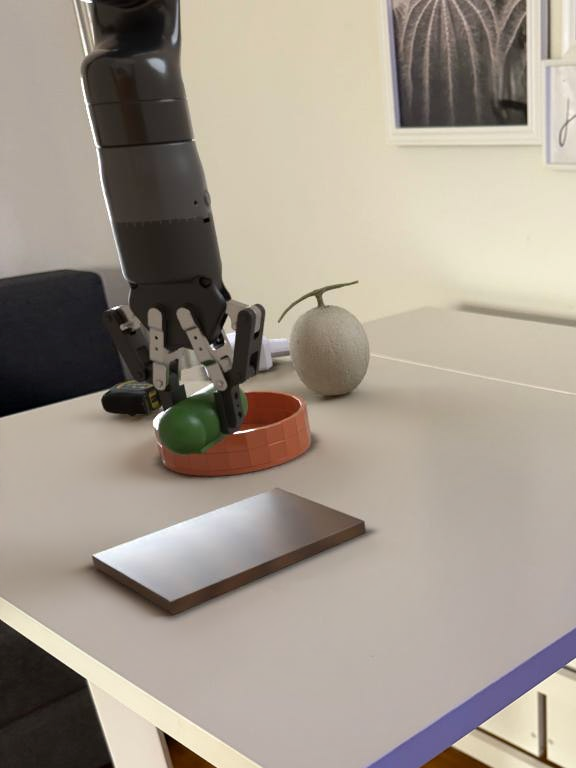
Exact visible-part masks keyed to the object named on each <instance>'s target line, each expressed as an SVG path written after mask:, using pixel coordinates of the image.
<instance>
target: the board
mask: <svg viewBox="0 0 576 768" xmlns="http://www.w3.org/2000/svg"><path fill="white" fill-rule="evenodd" d="M366 531H367V529H366V521H365V520H363V519H361V518H358V517H355V516H352V515H350V514H347V513H345V512H342V511H340V510H337V509H335V508H332V507H330V506H326V505H324V504H322V503H319V502H316V501H314V500H311V499H309V498H307V497H303V496H301V495H298V494H296V493H293V492H290V491H288V490H285V489H282V488H279V487H274V488H272V489H269V490H266V491H263V492H261V493H258V494H256V495H253V496H250V497H247V498H244V499H242V500H239V501H237V502H234V503H230V504H229V505H225V506H223V507H221V508H220V507H219V508H217V509H215V510H211V511H209V512H207V513H204V514H203V513H202V514H201V515H198V516H196V517H195V516H194V517H192V518H189V519H187V520H184V521H181V522H179V523H176V524H174V525H171V526H168V527H165V528H162V529H160V530H158V531H154V532H151V533H148V534H146V535H144V536H141V537H138V538H135V539H132V540H129V541H126V542H124V543H121V544H119V545H116V546H113V547H110V548H108V549H104V550H102V551H99V552H96V553H94V554H91V559H92V563H93V565H94V568H95V569H97V570H99V571H100V572H102V573H104V574H105V575H107V576H109V577H110V578H113V579H114V580H115V581H117V582H119V583H120V584H122V585H124V586H125V587H127V588H128V589H130V590H132V591H134V592H136V593H137V594H139V595H140V596H142V597H144V598H145V599H147V600H148V601H150V602H151V603H154V604H155V605H156V606H158V607H160V608H162V609H164V610H165V611H167V612H168V613H170V614H172V615H177V614H179V613H181V612H184V611H186V610H188V609H191V608H193V607H195V606H197V605H200V604H202V603H205V602H208V601H209V600H212V599H214V598H217V597H219V596H221V595H223V594H226V593H228V592H230V591H233V590H235V589H237V588H240V587H242V586H244V585H246V584H249V583H251V582H253V581H256V580H258V579H261V578H263V577H265V576H267V575H270V574H272V573H274V572H277V571H279V570H281V569H284V568H286V567H288V566H291V565H293V564H295V563H298V562H300V561H303V560H305V559H307V558H309V557H312V556H314V555H316V554H319V553H321V552H324V551H325V550H328V549H330V548H333V547H336V546H338V545H340V544H342V543H345V542H347V541H349V540H351V539H355V538H357V537H359V536H361V535H363V534H365V533H367V532H366Z"/></svg>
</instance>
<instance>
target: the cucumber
mask: <svg viewBox="0 0 576 768" xmlns="http://www.w3.org/2000/svg"><path fill="white" fill-rule="evenodd" d="M216 390H217V389H216V388H215V387H214V385H213V383H210V384H208V385H207V386H205V387H203V388H201V389H200V390H198V391H196V392H195V393H193V394H191V395H190V396H187V398H186V399H184V400H182V401H181V402H179V403H177V404H175V405H174V406H172V407H170V408H169V409H167V410H166V411H165V412H164V413H163V414H162V415H161V417H160V419H159V422H158V435H159V438H160V440H161V442H162V443H163V445H164V446H165V447H166V448H167V449H169V450H170V451H172V452H173V453H176V454H179V455H191V454H202V453H204V452H205V451H207V450H208V449H209V448H211V447H212V446H214V445H215V444H217V443H218V442H220V441H221V440H223V439H224V438H225V437H227V436H228V435H224V434H222V432H221V428H220V421H219V418H218V413H217V408H216V404H215V399H214V394H213V392H214V391H216ZM239 391H240V396H241V401H242V406H243V412H244V418H245V416H246V413H247V410H248V403H247V398H246V396H245V394H244V392H243V391H244V390H242V388H241V387H239Z"/></svg>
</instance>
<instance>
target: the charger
mask: <svg viewBox="0 0 576 768" xmlns="http://www.w3.org/2000/svg"><path fill="white" fill-rule="evenodd" d="M235 335H236V331H234V332H229V333H228V332H227V333H226V336H227V338H228V340H229V342H230V345H231V347H232V353H231V354H232V357H233V354H234V345H235ZM289 342H290V341H289V339H288V338H287V337H280V338H274V339H273V338H272V339H268V338H267V336H266V335H265V333H263V338H262V346H261V354H260V363H259V371H258V372H264V371H268V370H269V369H271V368H272V367H273V366H274V365H273V359H275V358H282V357H290V348H289ZM210 347H211V348H212V349H213V344H212V345H210ZM204 370H205V372H206V376H207V378H208V379H211V378H210V376H209V374H208V371H207V369H206V367H205V366H204Z"/></svg>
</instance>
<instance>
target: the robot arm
mask: <svg viewBox="0 0 576 768" xmlns="http://www.w3.org/2000/svg"><path fill="white" fill-rule="evenodd" d="M81 1H82V2H85V3H89V7H90V13H91V22H92V31H93V33H92V34H93V41H94V46H93V50H92V51H91V52H89V53H88V54H87V55H86V56H85V57H84V58H83V60H82V62H81V64H80V68H79V73H80V81H81V88H82V93H83V97H84V103H85V105H86V111H87V115H88V119H89V124H90V127H91V132H92V135H93V136H92V137H93V140H94V145H95V146H96V154H97V158H98V159H97V160H98V161H97V162H98V168H99V169H98V170H99V176H100V183H101V188H102V193H103V197H104V201H105V206H106V209H107V214H108V217H109V222H110V226H111V230H112V234H113V239H114V243H115V247H116V251H117V255H118V259H119V263H120V267H121V272H122V275H123V278H124V279H125V280H126V281H127V282H128V284H129V293H128V299H127V300H128V303H126V304H121V305H118V306H116V307H115V306H114V307H113V308H110V309H107V310H104V311H103V312H101V313H102V314H101V320H102V323H103V324H104V327H105V329H106V330H107V332H108V333H109V336H110V337H111V339H112V341H113V343H114V345H115V346H116V349H117V350H118V352H119V354H120V356H121V359H122V360H123V362H124V364H125V366H126V368H127V369H128V371H129V373H130V375H131V376H132V378H133V380H136V381H137V382H143V381H145V382H147V383H150V384H152V385H154V386H155V388H156V389H158V391H159V395H160V399H161V403H162V406H161V408H162V412H165V411H166V410H167V409H169V408H170V407H172V406H174V405H175V404H177V403H179V402H181V401H182V400H184V399H186V398H188V396H187V391H186V386H185V384H184V383H180V381H181V379H182V359H183V357H184V354H185V349H188V350H191V351H194V354H195V355H196V358H197V360H198V362H199V363H200V365H202V366H204V368H205V367H206V369H207V371H208V374H209V376H210V378H209V379H210V380H211V382H212V383H213V385H214V387H215V388H216V389H217V390H216V391H214V392H213V394H214V399H215V404H216V408H217V413H218V418H219V421H220V428H221V432H222V434H224V435H232V434H234V433H235V432H237V431H238V430H239V429H240V427H241V424H242V423H244V412H243V406H242V401H241V396H240V391H239V388H240V385H242V384H244V383H245V382H247V381H248V380H250V379H251V378H253V377H255V376H257V375H258V373H259V372H260V371H259V363H260V354H261V346H262V338H263V334H264V331H265V330H264V329H265V321H266V309H265V307H264V306H263V305H262V304H261V303H254V304H252V305H249V304H246V303H243V302H240V301H238V300H235V299H233V298H232V295H231V293H230V292H229V290H228V289H227V287H226V285H225V284H224V281H223V263H222V258H221V257H222V256H221V252H220V247H219V246H220V245H219V241H218V236H217V231H216V226H215V221H214V215H213V209H212V205H211V204H212V200H211V199H212V198H211V195H210V192H209V189H208V184H207V179H206V174H205V170H204V167H203V163H202V160H201V157H200V153H199V152H198V147H197V143H196V140H195V133H194V127H193V123H192V118H191V113H190V107H189V101H188V99H187V93H186V92H187V91H186V87H185V84H184V80H183V76H182V18H181V16H182V15H181V0H81ZM228 317H229V319H230V323H231V324H230V327H231V330H233V331H234V332H236V335H235V345H234V354H233V357H232V354H231V353H232V347H231V345H230V342H229V340H228V338H227V336H226V334H227V333H226V330H225V329H224V326H225V324H226V322H227V319H228ZM141 324H142V325H143V326H144V328H145V329H146V331H148V333H149V341H148V340H147V339H146V337H145V335H144V333H143V331H142V329H141ZM148 342H149V343H148ZM212 344H213V349H212V348H211V347H210V345H212ZM212 383H211V384H212Z"/></svg>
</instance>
